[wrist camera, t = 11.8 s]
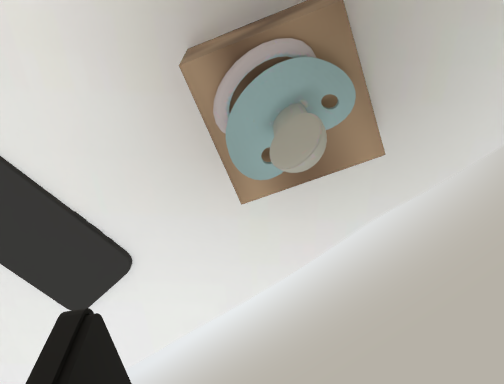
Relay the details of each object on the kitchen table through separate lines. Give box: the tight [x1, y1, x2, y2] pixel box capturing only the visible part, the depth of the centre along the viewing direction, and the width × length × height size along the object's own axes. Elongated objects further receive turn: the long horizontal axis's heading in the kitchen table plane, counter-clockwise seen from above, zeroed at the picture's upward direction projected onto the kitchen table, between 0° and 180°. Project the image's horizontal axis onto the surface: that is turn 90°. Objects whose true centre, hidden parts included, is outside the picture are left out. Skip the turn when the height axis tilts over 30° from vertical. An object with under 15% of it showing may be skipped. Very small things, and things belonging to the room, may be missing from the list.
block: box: [179, 0, 385, 204], centre depth 29 cm, size 9×9×5 cm
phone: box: [0, 156, 132, 311], centre depth 35 cm, size 7×1×15 cm
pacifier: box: [213, 38, 356, 180], centre depth 23 cm, size 7×6×6 cm
